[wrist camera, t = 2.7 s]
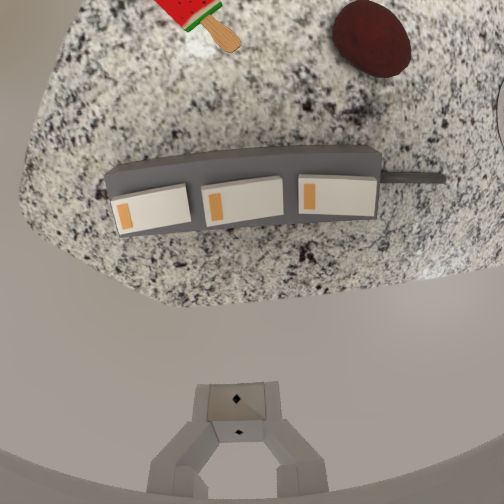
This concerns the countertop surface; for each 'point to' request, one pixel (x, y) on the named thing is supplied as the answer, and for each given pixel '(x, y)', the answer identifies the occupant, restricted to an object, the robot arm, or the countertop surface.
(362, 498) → the robot arm
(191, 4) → the popsicle
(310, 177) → the rocker
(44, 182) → the countertop surface
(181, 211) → the block
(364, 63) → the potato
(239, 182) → the rocker
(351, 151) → the power strip
